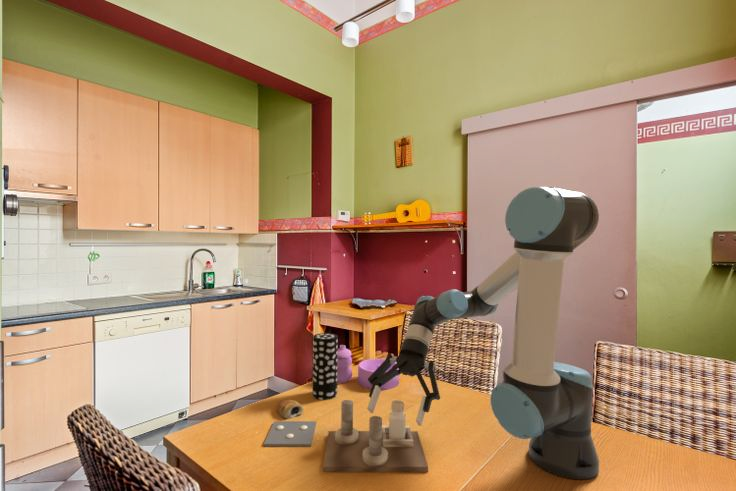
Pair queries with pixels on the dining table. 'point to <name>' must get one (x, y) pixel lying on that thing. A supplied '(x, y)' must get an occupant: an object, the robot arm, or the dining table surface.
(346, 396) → the dining table surface
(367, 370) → the container set
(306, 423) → the tile
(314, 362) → the spotted tube
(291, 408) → the pastry
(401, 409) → the pepper shaker
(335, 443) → the pin board
